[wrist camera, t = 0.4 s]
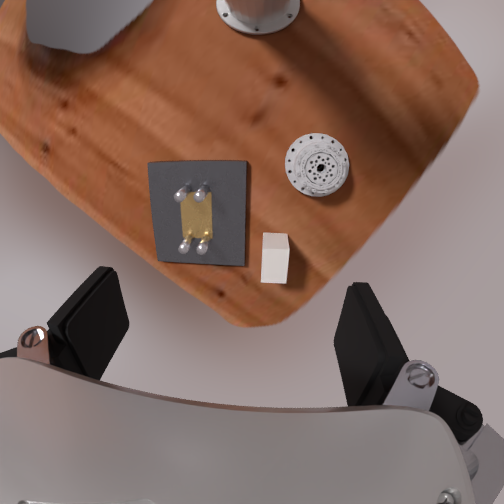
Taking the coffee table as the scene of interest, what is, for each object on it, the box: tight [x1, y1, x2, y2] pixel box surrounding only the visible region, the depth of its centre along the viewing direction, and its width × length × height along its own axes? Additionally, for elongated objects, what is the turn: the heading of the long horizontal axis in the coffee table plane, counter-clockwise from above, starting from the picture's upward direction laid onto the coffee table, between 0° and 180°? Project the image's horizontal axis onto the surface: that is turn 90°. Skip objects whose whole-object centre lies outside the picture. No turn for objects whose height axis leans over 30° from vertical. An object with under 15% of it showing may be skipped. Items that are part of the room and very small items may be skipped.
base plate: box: [148, 160, 247, 266], centre depth 43 cm, size 18×16×5 cm
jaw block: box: [261, 233, 290, 283], centre depth 45 cm, size 6×4×6 cm, turn 178°
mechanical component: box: [285, 133, 349, 197], centre depth 39 cm, size 10×4×10 cm
